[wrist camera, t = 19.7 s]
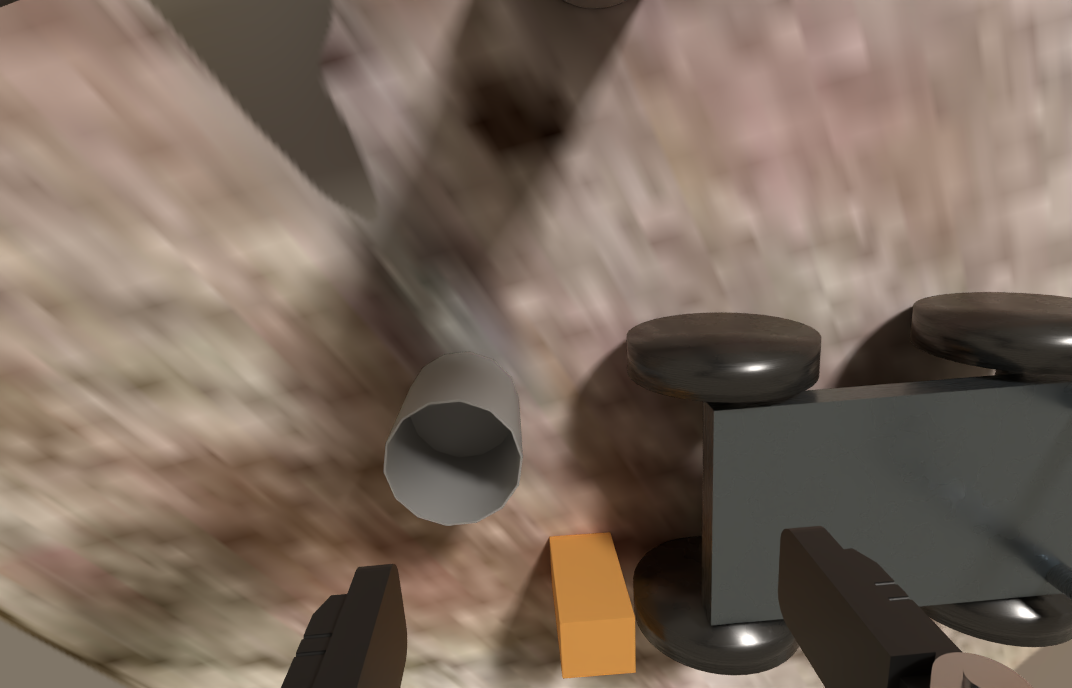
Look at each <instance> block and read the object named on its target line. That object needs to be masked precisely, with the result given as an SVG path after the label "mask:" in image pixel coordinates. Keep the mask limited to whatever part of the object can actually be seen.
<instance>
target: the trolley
mask: <svg viewBox="0 0 1072 688" xmlns="http://www.w3.org/2000/svg"><path fill="white" fill-rule="evenodd" d="M910 341H911V343H912V344H913V345H914V346H915V347H917V348H919V349H920V350H922V351H924V352H927V353H929V354H932V355H934V356H937V357H940V358H944V359H947V360H951V361H955V362H959V363H963V364H968V365H973V366H978V367H984V368H990V369H996V372H995V375H994V376H981V377H969V378H956V379H944V380H932V381H919V382H907V383H895V384H882V385H870V386H858V387H845V388H833V389H820V390H808V391H805V390H807V389H809V388H810V387H812V386H813V385H814V384H815V383H816V382H817V381H818V379H819V369H820V353H821V335H820V334H819V333H818V332H817V331H816V330H815V329H813V328H812V327H810V326H807V325H805V324H802V323H799V322H796V321H792V320H789V319H784V318H779V317H773V316H766V315H758V314H746V313H694V314H683V315H675V316H669V317H663V318H658V319H654V320H650V321H647V322H644V323H641V324H639V325H637V326H635V327H633V328H632V329H631V330H630V331H629V332H628V333H627V371H628V375H629V377H630V378H631V379H632V380H633V381H634V382H635V383H637V384H638V385H640V386H642V387H644V388H646V389H648V390H651V391H653V392H657V393H660V394H663V395H667V396H671V397H676V398H681V399H688V400H695V401H703V501H702V537H688V538H682V539H677V540H673V541H670V542H666V543H664V544H662V545H659V546H657V547H656V548H654V549H652V550H651V551H649V552H648V553H647V554H646V555H645V556H644V557H643V558H642V559H641V560H640V562H639V563H638V564H637V567H636V569H635V572H634V577H633V588H634V613H635V618H636V621H637V623H638V626H639V628H640V629H641V631H642V633H643V634H644V636H645V637H646V638H647V639H648V641H649V642H650V643H652V644H653V645H654V646H655V647H656V648H657V649H658V650H660V651H661V652H662V653H664V654H665V655H667V656H668V657H670V658H672V659H673V660H675V661H677V662H679V663H681V664H683V665H686V666H689V667H691V668H694V669H697V670H701V671H705V672H709V673H715V674H721V675H748V674H755V673H760V672H763V671H767V670H770V669H772V668H774V667H777V666H779V665H780V664H782V663H784V662H785V661H787V660H788V659H789V658H790V657H791V656H792V655H793V654H794V653H795V652H796V650H797V649H798V647H799V644H798V643H797V641H796V640H795V638H794V636H793V635H792V633H791V631H790V630H789V628H788V627H787V625H786V623H785V621H784V619H783V616H782V613H781V610H780V606H779V600H778V576H779V555H780V537H781V533H782V531H783V530H784V529H788V528H799V527H811V526H822V527H824V528H825V529H826V530H827V531H828V532H829V533H830V534H831V536H832V537H833V538H834V539H835V540H836V541H837V542H838V543H839V544H840V546H841V547H842V548H843V549H849V548H853V549H855V550H856V551H858V552H860V553H861V554H863V555H865V556H866V557H868V558H870V559H872V560H873V561H875V562H877V563H878V564H879V565H880V566H881V567H882V568H883V569H884V570H885V572H886V573H887V574H888V575H889V576H890V577H891V578H892V579H893V580H894V582H895V585H897V584H898V585H899V586H900V587H901V588H902V589H903V590H904V591H905V593H906V594H907V595H908V596H909V599H910V600H913V601H914V602H915V603H916V604H917V605H918V606H919V607H920V608H921V609H922V610H923V611H924V612H925V614H926V615H927V616H928V617H930V618H932V619H933V620H935V621H937V622H939V623H941V624H943V625H945V626H947V627H949V628H952V629H954V630H957V631H959V632H961V633H964V634H967V635H970V636H973V637H976V638H979V639H983V640H987V641H990V642H995V643H1000V644H1005V645H1012V646H1020V647H1046V646H1052V645H1058V644H1061V643H1064V642H1067V641H1069V640H1071V639H1072V298H1070V297H1062V296H1052V295H1041V294H1027V293H1005V292H974V293H954V294H944V295H937V296H932V297H927V298H923V299H921V300H918V301H917V302H915V303H914V305H913V314H912V323H911V333H910Z"/></svg>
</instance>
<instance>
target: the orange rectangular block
mask: <svg viewBox="0 0 1072 688" xmlns="http://www.w3.org/2000/svg"><path fill="white" fill-rule="evenodd" d="M549 538H550V557H551V576H552V589H553V598H554V606H555V615H556V624H557V633H558V642H559V650H560V659H561V668H562V677H563V678H575V677H587V676H599V675H612V674H624V673H636V665H635V615H634V612H633V609H632V605H631V602H630V598H629V595H628V591H627V588H626V585H625V581H624V578H623V574H622V571H621V568H620V564H619V561H618V557H617V554H616V550H615V547H614V544H613V540H612V537H611V533H610V532H607V533H593V534H580V535H566V536H552V537H549Z"/></svg>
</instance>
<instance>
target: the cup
mask: <svg viewBox="0 0 1072 688" xmlns="http://www.w3.org/2000/svg"><path fill="white" fill-rule="evenodd" d="M522 459H523V453H522V437H521V421H520V405H519V397H518V394H517V392H516V389H515V386H514V383H513V380H512V378H511V376H510V375H509V374H508V373H507V372H506V371H505V370H504V369H503V368H502V367H501V366H500V365H499V364H497V363H496V362H495V361H494V360H493V359H490V358H487V357H484V356H481V355H478V354H475V353H472V352H461V353H452V354H444V355H442V356H441V357H439V358H437V359H436V360H434V361H432V362H431V363H429V364H427V365H426V366H424V367H423V368H422V370H421V371H420V373H419V374H418V376H417V378H416V379H415V381H414V382H413V384H412V385H411V387H410V389H409V392H408V394H407V396H406V398H405V401H404V403H403V405H402V407H401V410H400V412H399V414H398V417H397V419H396V421H395V423H394V426H393V428H392V430H391V433H390V435H389V437H388V439H387V442H386V445H385V459H384V474H385V477H386V479H387V481H388V483H389V486H390V488H391V490H392V492H393V495H394V497H395V499H397V500H398V501H399V502H400V503H401V504H402V505H404V506H405V507H406V508H407V509H408V510H410V511H411V512H412V513H413V514H414V515H416V516H417V517H418V518H422V519H425V520H428V521H432V522H435V523H438V524H442V525H445V526H451V525H460V524H470V523H477V522H479V521H481V520H483V519H484V518H486V517H488V516H490V515H491V514H493V513H495V512H497V511H498V510H500V509H502V508H503V507H504V505H505V504H506V503H507V501H508V500H509V498H510V497H511V496H512V494H513V493H514V491H515V490H516V488H517V487H518V486H519V481H520V474H521V466H522Z"/></svg>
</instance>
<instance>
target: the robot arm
mask: <svg viewBox="0 0 1072 688" xmlns="http://www.w3.org/2000/svg"><path fill="white" fill-rule="evenodd" d="M15 1H18V0H0V7H2V6H5V5H8V4H10V3H13V2H15ZM563 1H565V2H567V3H570V4H573V5H575V6H578V7H584V8H592V9H596V8H605V7H611V6H613V5H616V4H619V3H622V2H624V1H626V0H563ZM778 600H779V606H780V610H781V613H782V616H783V619H784V621H785V623H786V625H787V627H788V628H789V630H790V631H791V633H792V635H793V636H794V638H795V640H796V641H797V643H798V644H799V646H800V648H801V649H802V651H803V652H804V654H805V656H806V657H807V659H808V660H809V662H810V664H811V665H812V667H813V668H814V670H815V672H816V673H817V675H818V677H819V678H820V680H821V681H822V683H823V685H824V686H825V688H1033V687H1032V686H1031V685H1030V684H1029V683H1028V681H1027V680H1025V679H1024V678H1023V677H1022V676H1020V675H1019V674H1018V673H1016V672H1015V671H1014V670H1012V669H1010V668H1009V667H1007V666H1005V665H1003V664H1001V663H999V662H997V661H995V660H992V659H990V658H987V657H984V656H980V655H976V654H971V653H963V652H962V651H961V650H960V649H959V648H958V647H957V646H956V645H955V644H954V643H953V642H952V641H951V640H950V639H949V638H948V637H947V636H946V634H945V633H944V632H943V631H942V630H941V629H940V628H939V627H938V626H937V625H936V624H935V623H934V622H933V621H932V620H931V619H930V618H929V617H928V616H927V615H926V614H925V612H924V611H923V610H922V609H921V608H920V607H919V606H918V605H917V604H916V603H915V602H914V601H913V600H910V599H909V596H908V595H907V594H906V593H905V591H904V590H903V589H902V588H901V587H900V586H899V585H898V584H897V585H895V582H894V580H893V579H892V578H891V577H890V576H889V575H888V574H887V573H886V572H885V570H884V569H883V568H882V567H881V566H880V565H879V564H878V563H877V562H875V561H873V560H872V559H870V558H868V557H866V556H865V555H863V554H861V553H860V552H858V551H856V550H855V549H853V548H849V549H843V548H842V547H841V546H840V544H839V543H838V542H837V541H836V540H835V539H834V538H833V537H832V536H831V534H830V533H829V532H828V531H827V530H826V529H825V528H824V527H822V526H811V527H799V528H788V529H784V530H783V531H782V533H781V537H780V555H779V576H778ZM406 655H407V628H406V620H405V614H404V607H403V600H402V593H401V587H400V580H399V574H398V569H397V566H396V565H395V564H387V565H376V566H364V567H358V568H357V570H356V572H355V575H354V577H353V580H352V583H351V585H350V588H349V591H348V593H347V594H342V595H331V596H330V597H329V598H328V599H327V600H326V601H325V602H324V603H323V604H322V605H321V607H320V608H319V609H318V610H317V611H316V612H315V613H314V614H313V615H312V618H311V620H310V622H309V624H308V627H307V629H306V631H305V634H304V639H303V640H301V643H300V645H299V647H298V650H297V652H296V657H294V659H293V661H292V663H291V666H290V668H289V670H288V673H287V675H286V677H285V679H284V682H283V684H282V686H281V688H400V686H401V681H402V676H403V672H404V667H405V662H406Z"/></svg>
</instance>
